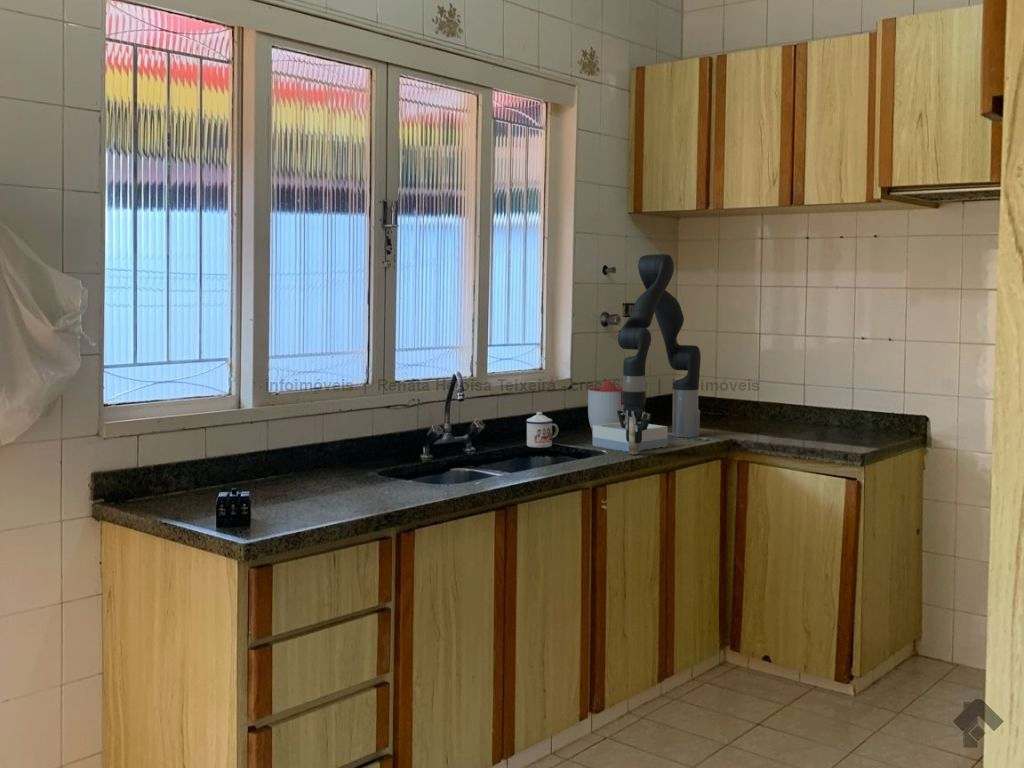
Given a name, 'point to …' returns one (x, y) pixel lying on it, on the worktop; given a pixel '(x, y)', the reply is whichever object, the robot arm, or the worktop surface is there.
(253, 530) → the worktop surface
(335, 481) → the worktop surface
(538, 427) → the teacup with lid
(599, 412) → the citrus juicer
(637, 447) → the peg
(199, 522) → the worktop surface
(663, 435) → the box
